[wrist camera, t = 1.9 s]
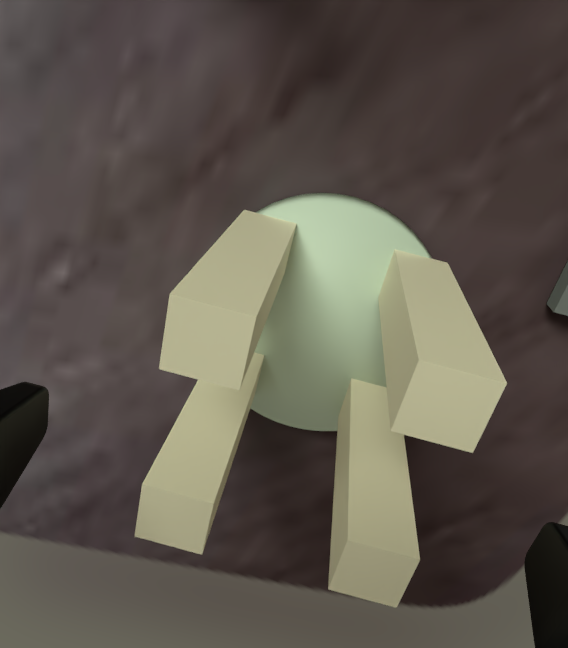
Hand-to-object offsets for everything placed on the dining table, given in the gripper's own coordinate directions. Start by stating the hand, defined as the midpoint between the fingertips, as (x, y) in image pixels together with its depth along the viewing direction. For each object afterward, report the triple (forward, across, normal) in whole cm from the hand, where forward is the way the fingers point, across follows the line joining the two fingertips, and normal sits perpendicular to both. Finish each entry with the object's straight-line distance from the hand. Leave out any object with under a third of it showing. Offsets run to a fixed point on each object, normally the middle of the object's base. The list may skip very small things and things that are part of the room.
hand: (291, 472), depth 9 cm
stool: (+7, 0, 0) cm, 7 cm away
